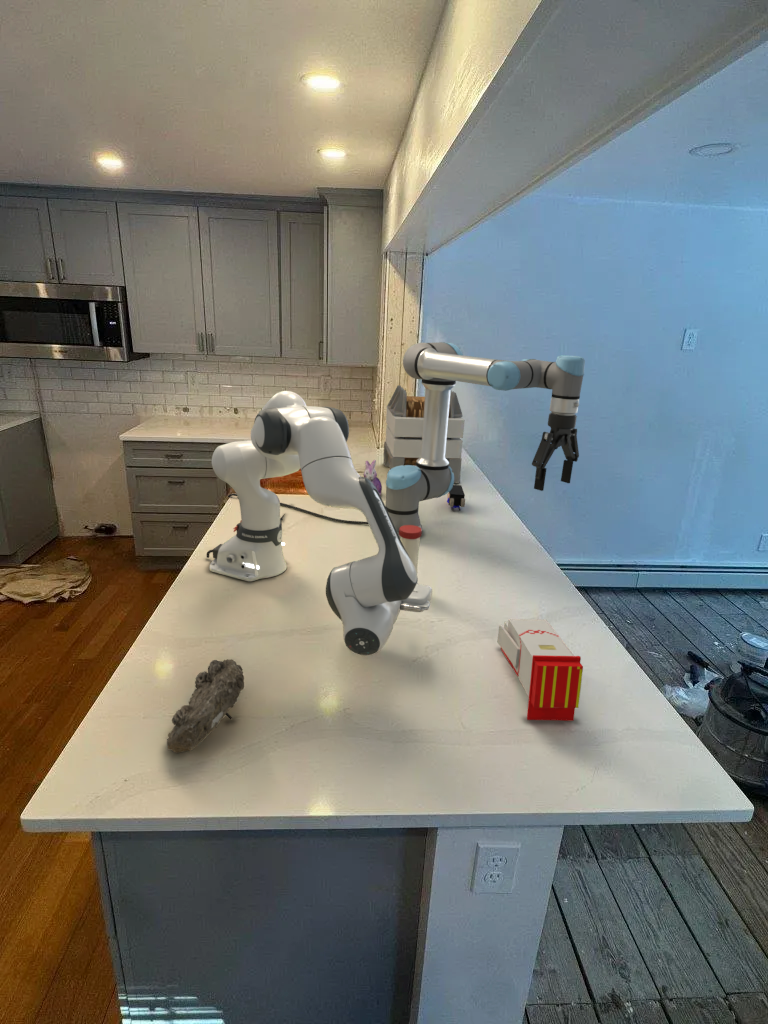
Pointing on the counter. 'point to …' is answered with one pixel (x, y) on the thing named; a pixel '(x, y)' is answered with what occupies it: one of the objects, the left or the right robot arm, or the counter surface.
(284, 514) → the feather
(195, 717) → the fossil
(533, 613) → the counter surface
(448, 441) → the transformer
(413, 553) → the jar
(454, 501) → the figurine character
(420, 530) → the lid
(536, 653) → the toy
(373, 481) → the figurine
